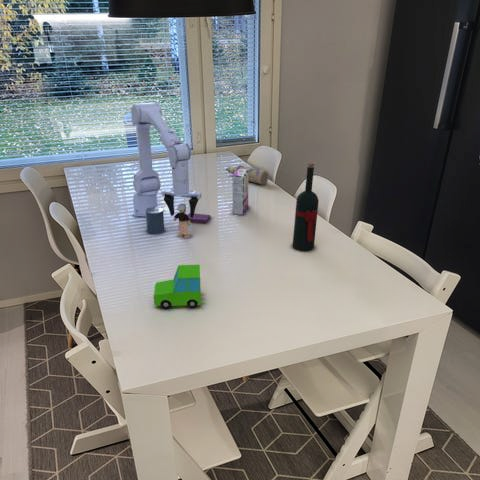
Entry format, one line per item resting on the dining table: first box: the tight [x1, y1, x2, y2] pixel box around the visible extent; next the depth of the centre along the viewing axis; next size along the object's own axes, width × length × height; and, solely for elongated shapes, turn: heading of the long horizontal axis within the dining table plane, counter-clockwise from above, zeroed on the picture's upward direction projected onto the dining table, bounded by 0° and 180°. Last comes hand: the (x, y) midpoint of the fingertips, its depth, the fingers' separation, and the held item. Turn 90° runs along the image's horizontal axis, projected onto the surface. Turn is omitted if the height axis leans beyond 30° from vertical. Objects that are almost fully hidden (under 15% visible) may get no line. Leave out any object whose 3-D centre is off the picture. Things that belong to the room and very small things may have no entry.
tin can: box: [145, 206, 166, 235], centre depth 185 cm, size 7×7×8 cm
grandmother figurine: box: [173, 202, 192, 239], centre depth 180 cm, size 8×4×13 cm, turn 71°
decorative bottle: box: [225, 164, 269, 186], centre depth 246 cm, size 26×8×7 cm, turn 47°
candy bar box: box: [232, 169, 249, 216], centre depth 204 cm, size 11×5×16 cm, turn 168°
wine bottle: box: [292, 162, 320, 252], centre depth 167 cm, size 8×10×30 cm
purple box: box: [187, 212, 211, 225], centre depth 198 cm, size 9×7×2 cm
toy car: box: [153, 264, 202, 310], centre depth 139 cm, size 10×13×10 cm
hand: (182, 215), depth 179 cm, fingers open, 7 cm apart
